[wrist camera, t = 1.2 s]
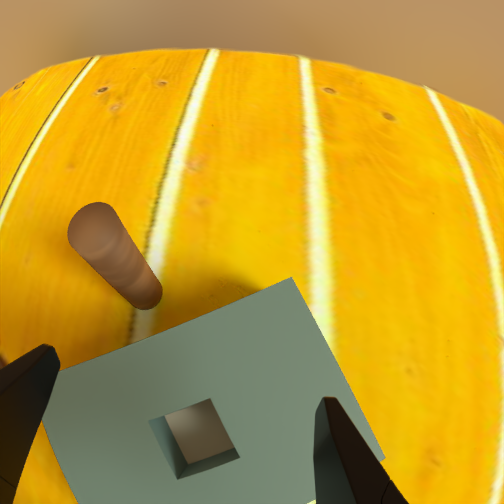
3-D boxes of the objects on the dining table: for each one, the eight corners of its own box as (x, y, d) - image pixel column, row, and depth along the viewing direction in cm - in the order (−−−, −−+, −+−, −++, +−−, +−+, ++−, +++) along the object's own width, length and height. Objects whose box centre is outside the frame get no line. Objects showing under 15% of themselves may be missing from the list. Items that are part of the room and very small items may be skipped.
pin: (134, 315, 24) (71, 260, 14) (124, 283, 25) (64, 215, 15) (167, 301, 24) (122, 238, 14) (155, 269, 26) (111, 194, 16)
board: (131, 532, 16) (111, 556, 11) (63, 385, 21) (30, 381, 16) (358, 447, 20) (385, 457, 15) (281, 298, 25) (291, 276, 20)
